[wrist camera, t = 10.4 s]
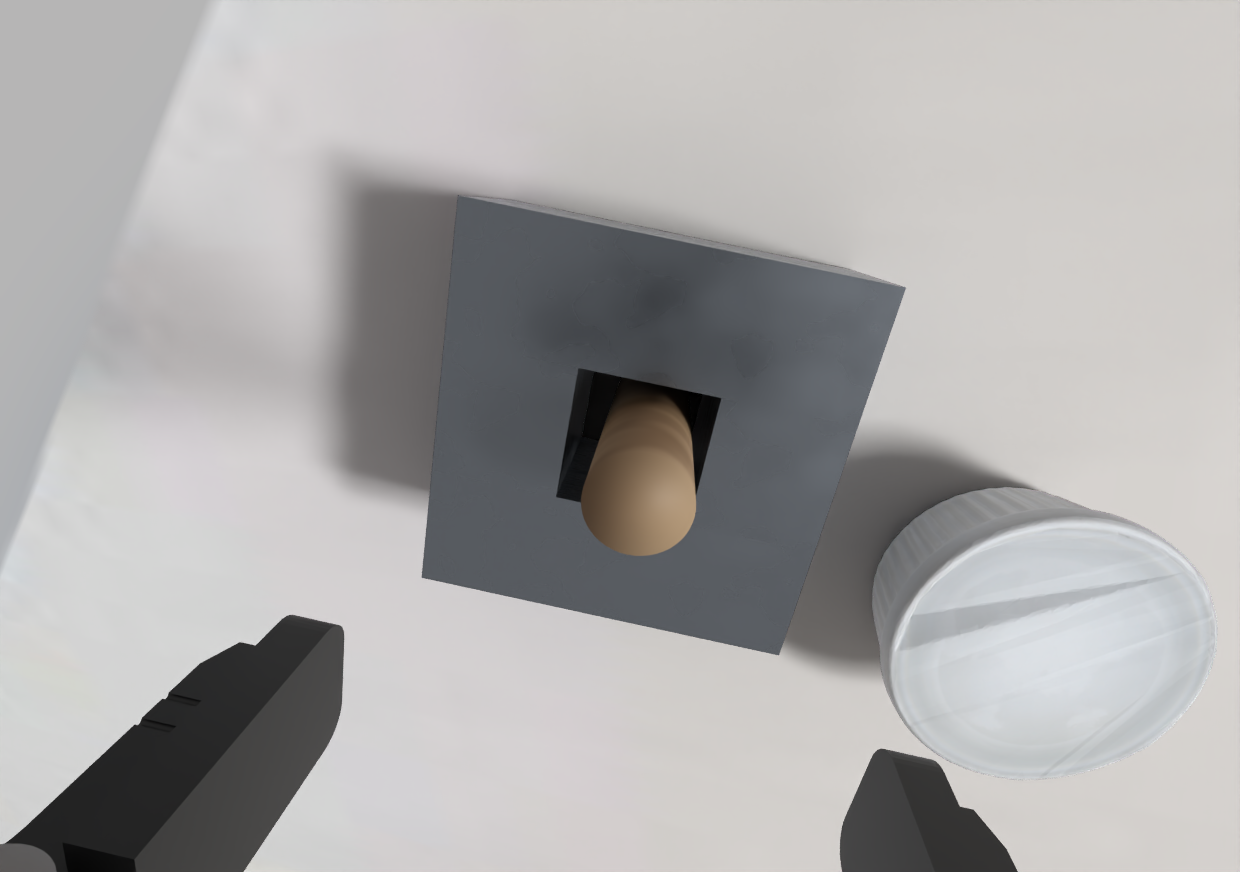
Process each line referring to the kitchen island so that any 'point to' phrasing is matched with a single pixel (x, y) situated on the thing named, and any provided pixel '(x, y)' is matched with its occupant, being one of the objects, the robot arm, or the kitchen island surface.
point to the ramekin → (1038, 633)
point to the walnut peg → (642, 471)
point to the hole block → (655, 353)
